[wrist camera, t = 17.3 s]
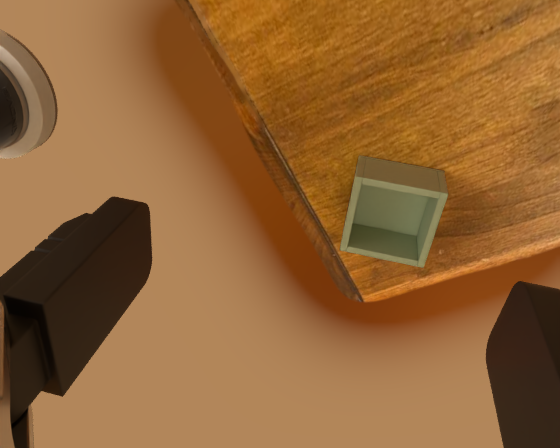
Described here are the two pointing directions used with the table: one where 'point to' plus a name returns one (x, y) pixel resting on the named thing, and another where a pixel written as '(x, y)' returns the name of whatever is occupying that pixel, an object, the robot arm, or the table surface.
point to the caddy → (393, 211)
